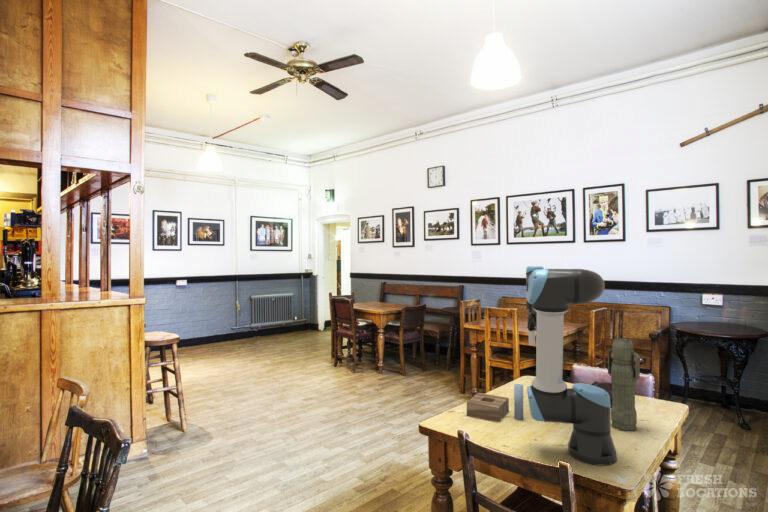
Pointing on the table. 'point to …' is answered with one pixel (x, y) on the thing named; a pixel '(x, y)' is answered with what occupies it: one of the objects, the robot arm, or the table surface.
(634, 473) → the table surface
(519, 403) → the dowel pin
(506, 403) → the bore block
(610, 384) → the diary
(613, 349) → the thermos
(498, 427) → the table surface
